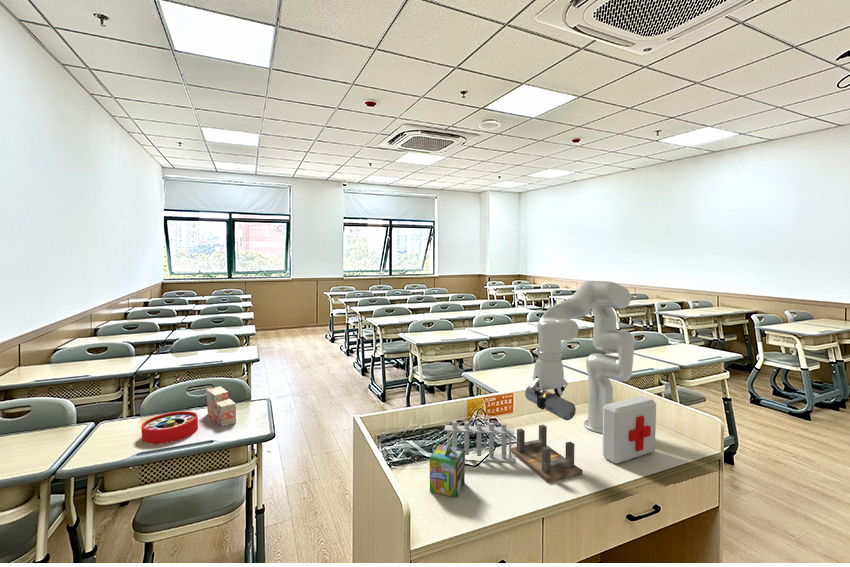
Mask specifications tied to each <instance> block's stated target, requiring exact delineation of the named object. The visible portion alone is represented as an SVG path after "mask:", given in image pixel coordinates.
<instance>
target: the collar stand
mask: <svg viewBox="0 0 850 567" xmlns="http://www.w3.org/2000/svg"><path fill="white" fill-rule="evenodd" d="M547 430H548V428H547V426H546V425H545V424H539V425H538V439H535V440H530V441H525V439H526V438H525V436H526V434H525V431H526V430H525V429H523V428H517V429H516V446H513V447H512V446H511V452H512V453H511V455H513V454H514V457H516V458H517V459H518V460H519V461H520V462H522V464H524V465H525V466H526V467H528V469H530V470H531V471H533V473H535V474H536V475H537V476H538V477H540V478H541V479H542V480H543V481H544V482H545V483H547V484H548V483H551V482H555V481H560V480H565V479H570V478H573V477H578V476H581V475H583V469H582V468H580V467H579V466H577V465H576V464H575V443H574V442H572V441H566V442H565V454H564V455H565V456H563V455H562V454H560V453H559V452H557V451H556V450H555V449H553V448H552V447H550V446H549V445H547V442H548V440H547V436H548V434H547V433H548V432H547Z"/></svg>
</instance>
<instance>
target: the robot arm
mask: <svg viewBox="0 0 850 567" xmlns="http://www.w3.org/2000/svg"><path fill="white" fill-rule="evenodd" d="M631 300H632V298H631V293H630V290H628V288H626V287H625V286H623V285H620V284H618V283H616V282H614V281H609V280H608V281H607V280H587V281H585V282H582V283H581V285H580V286H579V287H578V288H577V290H576V291H575V292H573V294H572V296H571V297H570V298H569V299H567V300H564V301H561V302H559V303H558V304H555V305H553V306H551V307H549V308H548V309H547V310H546V311H545V312H544V313H543V314H542V315H541V317H540V318H539V319H538V322H537V327H536V328H537V332H538V341H537V342H538V348H537V350H538V351H537V352H538V353H537V355H538V356H537V359H536V360H535V364H534V367H533V376H532V377H533V378H532V383H531V384H530V385H531V386H530V385H529V386H530V387H529V388H530V389H531V390H532V391H533V393H534V394H535V395H536V396H537V404H536V407H537V408H539V409H540V410H545V409H544V398H543V395H544V392H545V390H546V391H549V390H553V392H554V393H552V394H554V395H556V396H559V397H561V396H562V395H563V392H564V391H565V389H566V388H567V386H568V385H569V383H568V381H567V380H565V373H564V365H563V360H562V356H563V355H564V354H563V352H562V341H572V340H575V338H577V336H578V334H579V332H580V330H579V329H580V328H579V324H578V323H577V322H576V321H574V320H575V319H579V318H582V317H586V316H587V315H588V314H589V313H590V311H591V310H592V312H593V317H594V320H593V321H594V322H593V330H592V332H593V333H592V345H593V348H595V349H596V350H599V351H602V352H603V351H604V352H608V353H615V354H617V356H616V355H611V354H605V353H598V352H597V353H592V354H589V355H588V356H587V358H586V360H585V366H586V371H587V381H588V385H587V386H588V387H587V388H588V390H587V395H588V396H587V400H588V401H587V419H586V420H584V422H583V426H584V427H585V428H586V429H587V430H589V431H592V432H594V433H599V434H603V406H605V405H606V404H610V403H614V401H613V400H614V399H613V398H614V397H613V395H614V387H613V384H612V382H611V381H610V380H613V381H620V382H626V381H629V380H630V379H631V377H632V374H633V365H634V364H633V363H634V354H635V353H634V352H635V339H634V335H633V334H632V333H631V332H630V331H626V330H622V329H617V316H616V313H615V312H614V310H613V309H626V308H627V307H628V306H629V305H630V303H631ZM573 319H574V320H573ZM536 387H538V388H537V390H536ZM540 391H541V392H540ZM561 398H562V397H561Z"/></svg>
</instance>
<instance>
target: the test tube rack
mask: <svg viewBox="0 0 850 567" xmlns="http://www.w3.org/2000/svg"><path fill="white" fill-rule="evenodd" d="M463 424H464V425H458V422H457V421H456V420H452V422H451V424H445V425H444V430H443V431H444V432H447V435H446V436H447V446H448V445H449V444H450V442H451V441H452V445H451V447H456V448H458V432H461V433H462V432H463V433H464V438H463V439H464V441H463V442H464V449H465V455H469V453H470V433H476V453H477V456H481V454H482V451H483V450H482V446H483V445H482V442H483V441H482V433H483V434H484V433H485V434H488V454H489V456H488V457H487V458H486V459H485V460H486V461H492V462H491V463H503V462H506V463H507V464H515V463H516V460H515V455H513V454H512V453H511V448H512V435H515V434H516V433H515V428H514V427H508V426H507V423H505V422H504V423H501V427H500V426H499V427H498V426H495V423H494V422H489V423H488V426H482V425H483V424H482V422H481V421H477V422H476V426H475V425H470V422H469V421H464V423H463ZM450 433H451V434H452V435H451V434H450ZM495 434H501V454H499V453H498V454H497V453H495ZM507 435H508V454H507ZM450 436H451V437H450ZM451 438H452V439H451ZM450 439H451V440H450Z"/></svg>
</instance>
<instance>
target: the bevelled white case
mask: <svg viewBox="0 0 850 567" xmlns="http://www.w3.org/2000/svg"><path fill="white" fill-rule="evenodd" d="M656 422H657V403H656V402H655V400H654V399H652V398H650V397H646V396H644V395H641V396H636V397H632V398H628V399H624V400H619V401H616V402H614V401H613V403H610V404H606V405H605V406H603V433H602V453H601V454H602V456H603V457H604V459H605V460H607V461H609V462H611V463H612V464H614V465H617V463H618V464H620V462H621V463H624V462H626V461H630V460H632V458H633V459H635V457H636V458H638V456H639V457H642V456H645V455H647V453H648V454H650V452H651V453H653V452H655V451H656V432H657V431H656V430H657V429H656V428H657V427H656V425H657V424H656ZM644 454H645V455H644ZM641 455H642V456H641ZM623 461H624V462H623Z"/></svg>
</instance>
